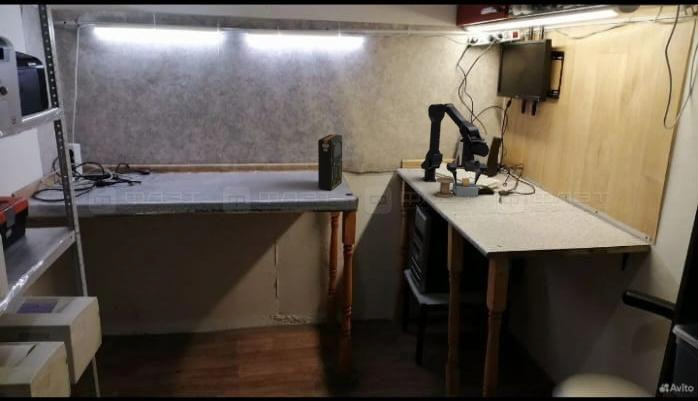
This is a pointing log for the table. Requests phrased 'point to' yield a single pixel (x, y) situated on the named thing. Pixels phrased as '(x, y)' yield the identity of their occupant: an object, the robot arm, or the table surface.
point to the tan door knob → (444, 187)
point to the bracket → (465, 189)
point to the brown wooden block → (465, 182)
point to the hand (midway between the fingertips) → (465, 184)
